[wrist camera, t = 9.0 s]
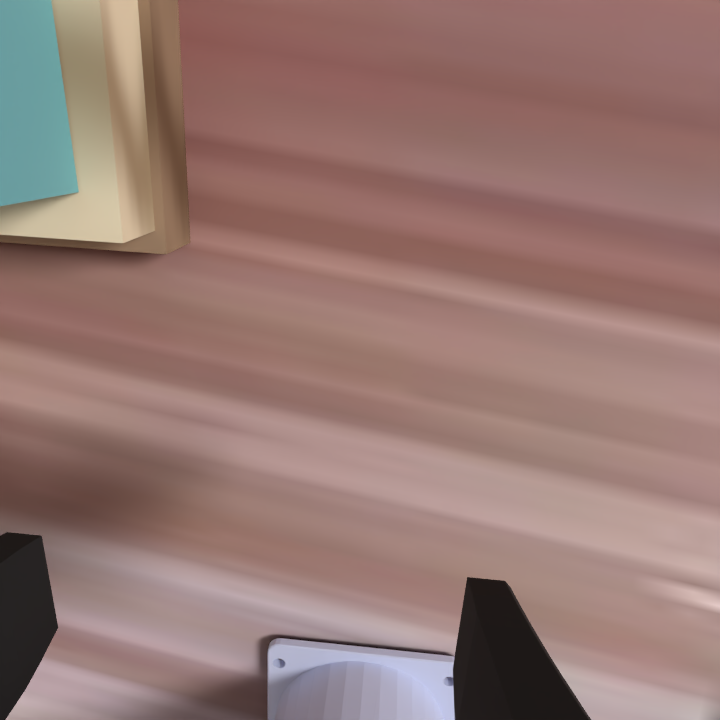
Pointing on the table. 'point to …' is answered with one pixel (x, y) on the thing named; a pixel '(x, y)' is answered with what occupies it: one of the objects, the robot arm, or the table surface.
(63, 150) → the teal block
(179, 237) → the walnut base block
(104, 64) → the maple top block
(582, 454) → the table surface
